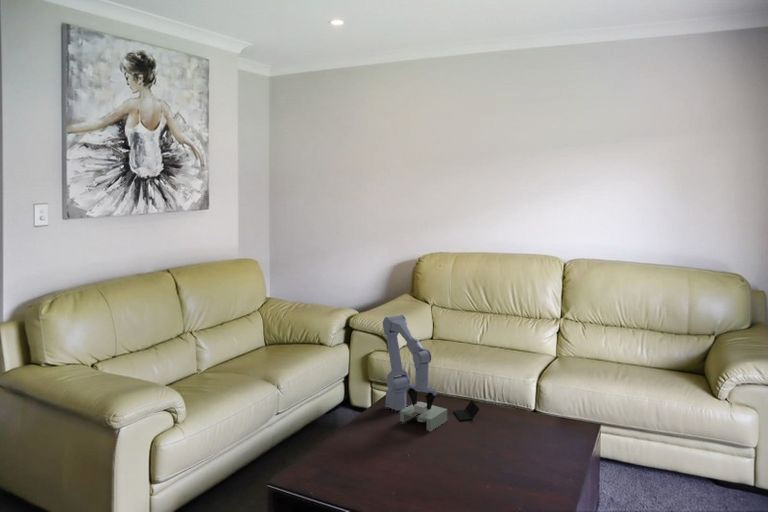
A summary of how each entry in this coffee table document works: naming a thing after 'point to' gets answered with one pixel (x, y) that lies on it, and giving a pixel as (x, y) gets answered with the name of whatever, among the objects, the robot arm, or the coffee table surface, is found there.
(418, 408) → the peg
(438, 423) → the slot bracket
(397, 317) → the robot arm
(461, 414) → the handheld gaming console
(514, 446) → the coffee table surface
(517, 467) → the coffee table surface
